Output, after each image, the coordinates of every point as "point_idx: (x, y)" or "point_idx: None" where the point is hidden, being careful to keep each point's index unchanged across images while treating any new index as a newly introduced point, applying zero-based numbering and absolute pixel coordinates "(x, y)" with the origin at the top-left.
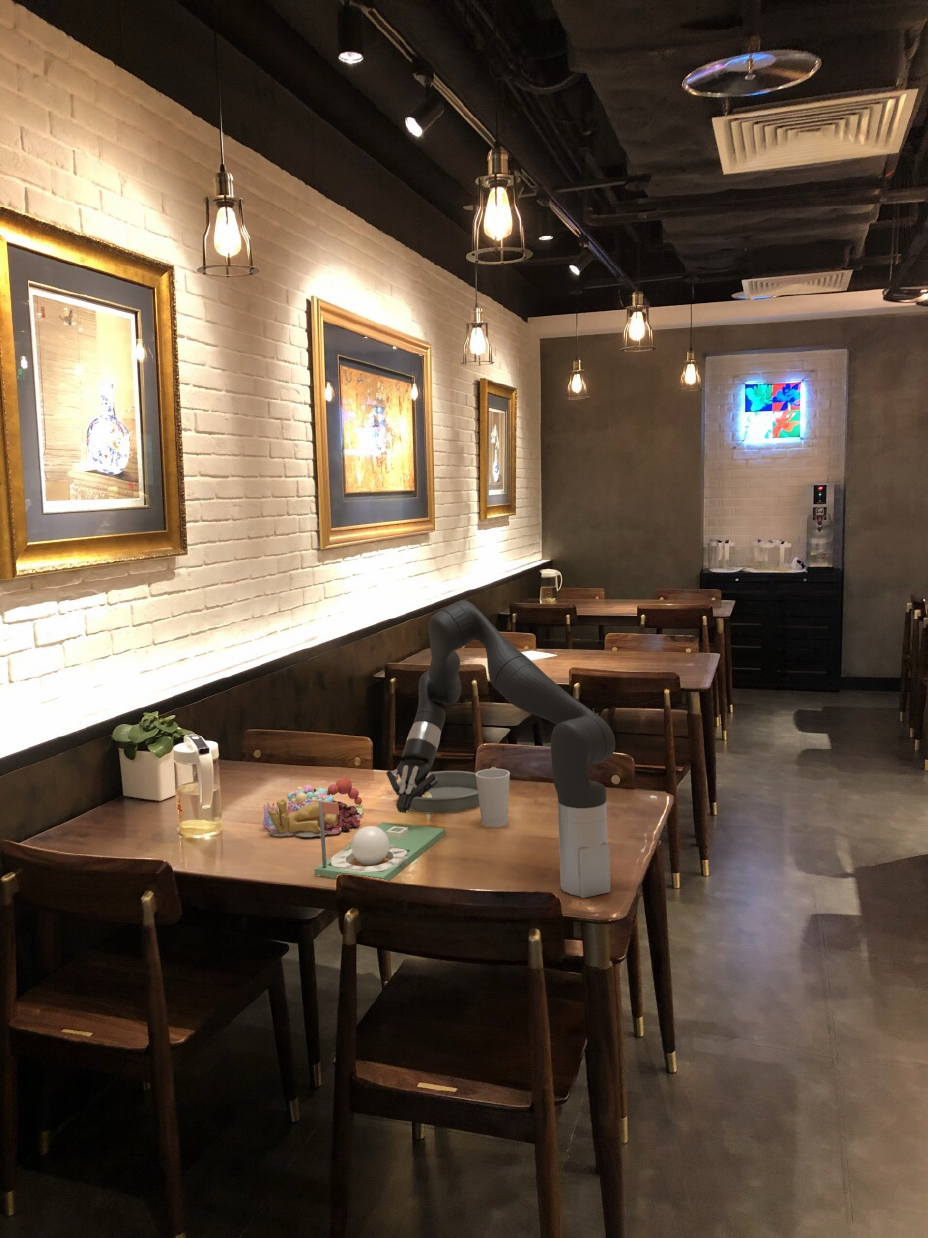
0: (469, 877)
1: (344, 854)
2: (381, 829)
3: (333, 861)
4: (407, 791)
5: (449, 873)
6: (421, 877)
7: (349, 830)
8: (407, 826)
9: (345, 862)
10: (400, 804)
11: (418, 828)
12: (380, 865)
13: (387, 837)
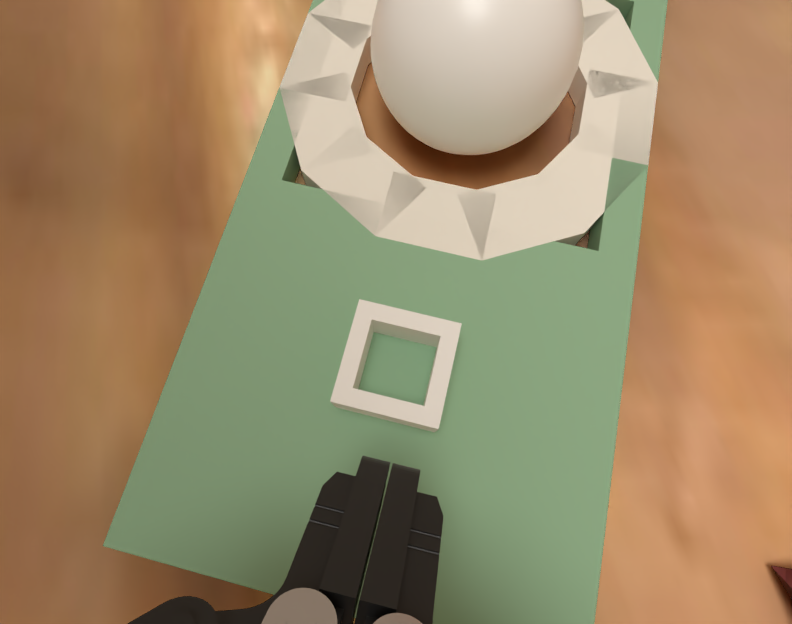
0: (17, 10)
1: (608, 113)
2: (422, 14)
3: (624, 37)
4: (310, 617)
5: (99, 40)
6: (213, 3)
7: (778, 570)
8: None
9: None
10: (393, 491)
11: (288, 542)
12: None
13: (379, 30)
